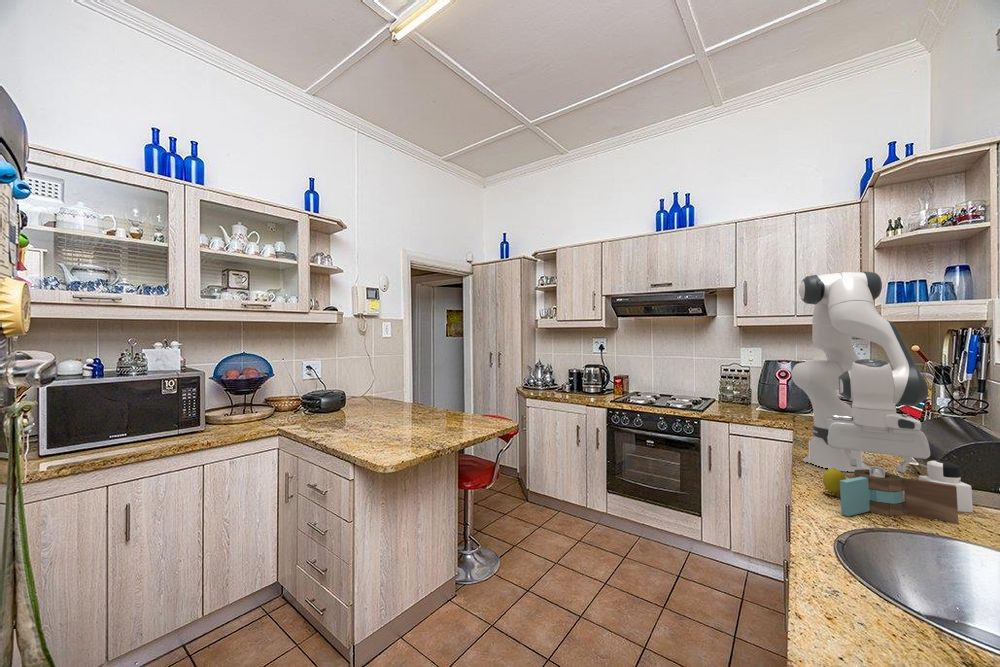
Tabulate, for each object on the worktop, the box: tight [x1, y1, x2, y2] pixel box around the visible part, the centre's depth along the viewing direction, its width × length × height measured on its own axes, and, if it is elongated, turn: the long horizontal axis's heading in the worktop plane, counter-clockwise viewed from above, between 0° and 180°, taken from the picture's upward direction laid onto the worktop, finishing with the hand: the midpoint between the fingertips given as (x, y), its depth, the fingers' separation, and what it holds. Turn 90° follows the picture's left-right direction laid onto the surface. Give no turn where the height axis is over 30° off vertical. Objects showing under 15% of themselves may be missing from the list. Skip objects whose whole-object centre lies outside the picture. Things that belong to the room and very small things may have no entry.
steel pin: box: [868, 465, 886, 478], centre depth 106 cm, size 3×3×11 cm
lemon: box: [822, 468, 847, 496], centre depth 116 cm, size 6×6×8 cm
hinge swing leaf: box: [840, 476, 905, 517], centre depth 105 cm, size 19×9×9 cm, turn 109°
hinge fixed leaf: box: [854, 469, 959, 525], centre depth 103 cm, size 9×19×9 cm, turn 49°
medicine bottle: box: [918, 460, 974, 514], centre depth 107 cm, size 7×7×12 cm
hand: (876, 469), depth 107 cm, fingers open, 8 cm apart
